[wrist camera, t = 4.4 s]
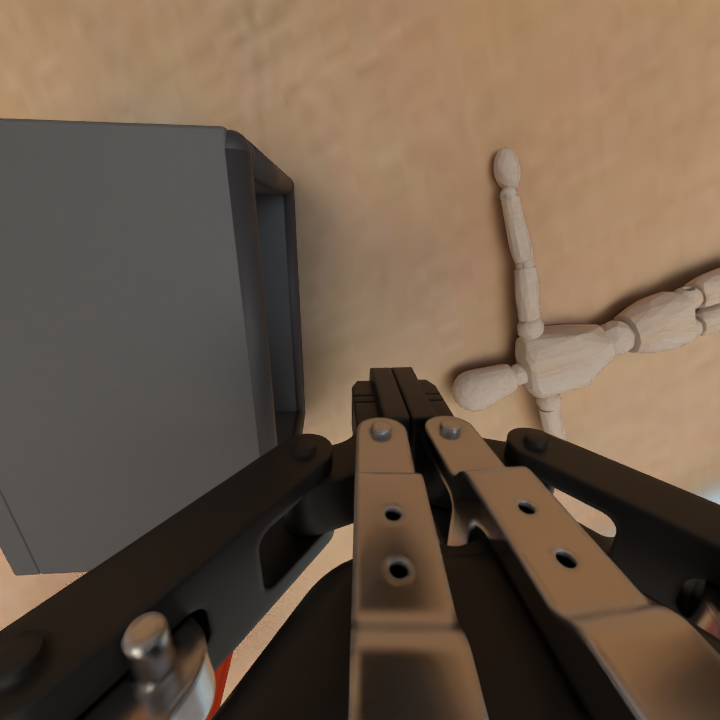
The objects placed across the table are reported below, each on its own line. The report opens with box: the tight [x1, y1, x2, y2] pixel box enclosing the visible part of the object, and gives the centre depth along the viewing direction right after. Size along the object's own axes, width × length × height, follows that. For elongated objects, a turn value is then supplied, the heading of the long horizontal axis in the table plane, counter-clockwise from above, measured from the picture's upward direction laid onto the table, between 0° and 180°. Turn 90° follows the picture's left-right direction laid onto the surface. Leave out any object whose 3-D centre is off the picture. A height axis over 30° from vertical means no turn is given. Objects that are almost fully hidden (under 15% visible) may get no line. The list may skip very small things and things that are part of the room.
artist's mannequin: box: [452, 147, 720, 440], centre depth 23 cm, size 28×4×30 cm
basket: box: [0, 118, 305, 575], centre depth 17 cm, size 16×11×12 cm
